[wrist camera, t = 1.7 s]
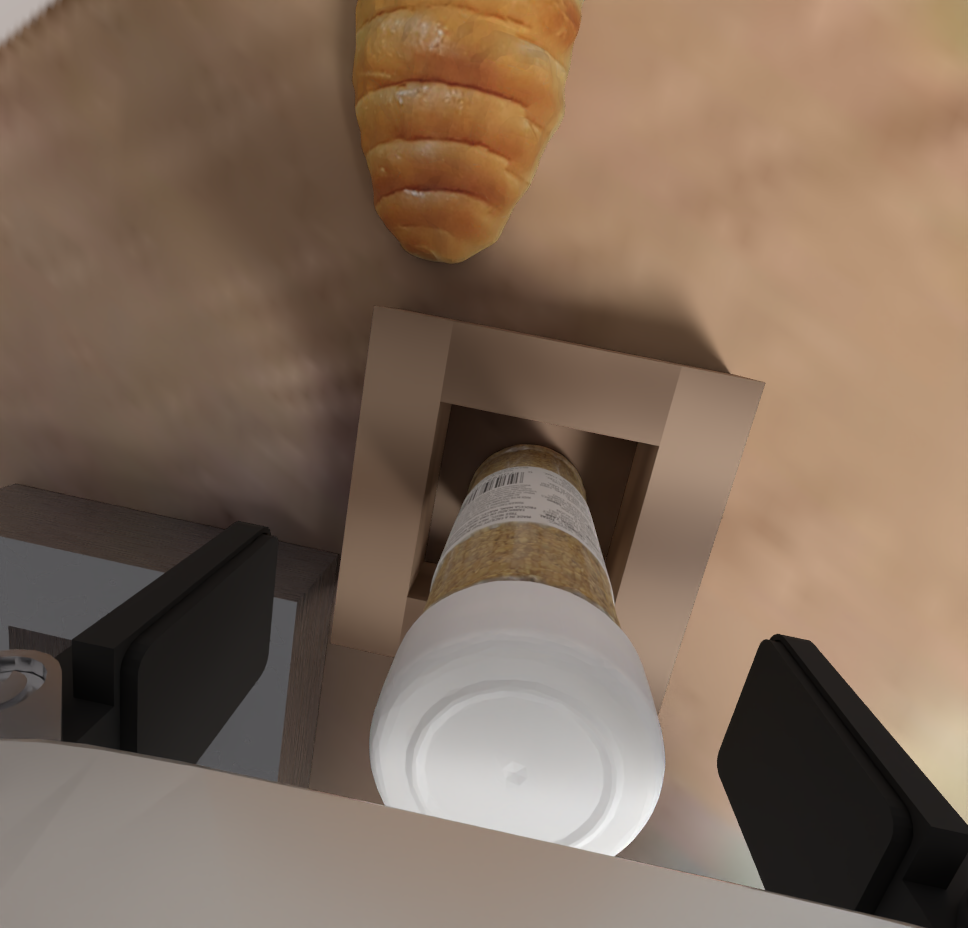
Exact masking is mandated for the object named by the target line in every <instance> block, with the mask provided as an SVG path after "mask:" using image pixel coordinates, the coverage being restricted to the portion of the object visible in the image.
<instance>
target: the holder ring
mask: <svg viewBox="0 0 968 928" xmlns="http://www.w3.org/2000/svg"><path fill="white" fill-rule="evenodd" d="M764 386H765V382H761V381H757V380H753V379H749V378H745V377H741V376H737V375H733V374H729V373H724V372H719V371H714V370H709V369H704V368H699V367H694V366H688V365H683V364H678V363H673V362H668V361H663V360H658V359H653V358H648V357H643V356H638V355H633V354H627V353H622V352H617V351H612V350H607V349H602V348H597V347H592V346H587V345H582V344H577V343H572V342H566V341H561V340H556V339H551V338H546V337H541V336H536V335H531V334H526V333H521V332H516V331H511V330H506V329H500V328H495V327H490V326H485V325H480V324H475V323H470V322H465V321H460V320H455V319H450V318H445V317H439V316H434V315H429V314H424V313H419V312H414V311H409V310H404V309H399V308H391V307H382V306H374V309H373V317H372V325H371V332H370V340H369V348H368V355H367V363H366V371H365V378H364V386H363V394H362V401H361V409H360V417H359V424H358V432H357V440H356V447H355V455H354V463H353V470H352V478H351V486H350V493H349V501H348V509H347V516H346V524H345V532H344V539H343V547H342V555H341V562H340V570H339V578H338V585H337V593H336V601H335V608H334V616H333V623H332V631H331V639H330V643H331V644H335V645H340V646H344V647H349V648H353V649H358V650H362V651H366V652H371V653H375V654H380V655H384V656H389V657H393V658H394V657H395V655H396V652H397V650H398V648H399V646H400V644H401V643H402V641H403V639H404V637H405V635H406V633H407V632H408V630H409V629H410V628H411V626H412V625H413V624H414V623H415V621H416V620H417V619H418V618H419V617H420V616H421V614H422V613H423V611H424V608H425V605H426V602H427V600H428V597H429V594H430V588H431V583H432V579H433V575H434V573H435V570H436V567H437V565H438V564H434V563H430V562H425V561H424V559H425V553H426V548H427V542H428V536H429V531H430V525H431V519H432V513H433V508H434V502H435V496H436V490H437V485H438V479H439V473H440V467H441V462H442V456H443V450H444V445H445V439H446V433H447V427H448V422H449V416H450V410H451V404H455V405H460V406H465V407H470V408H475V409H479V410H484V411H489V412H494V413H499V414H504V415H509V416H514V417H519V418H524V419H529V420H533V421H538V422H543V423H548V424H553V425H558V426H563V427H568V428H573V429H578V430H583V431H587V432H592V433H597V434H602V435H607V436H612V437H617V438H622V439H627V440H632V441H637V442H638V444H637V448H636V451H635V455H634V459H633V463H632V466H631V470H630V474H629V477H628V481H627V485H626V488H625V492H624V496H623V500H622V503H621V507H620V511H619V514H618V518H617V522H616V526H615V529H614V533H613V537H612V540H611V544H610V548H609V551H608V555H607V559H606V563H605V566H606V569H607V573H608V576H609V579H610V583H611V587H612V591H613V596H614V604H615V610H616V615H617V618H618V620H619V623H620V627H621V629H622V631H623V632H624V633H625V634H626V636H627V637H628V638H629V640H630V642H631V643H632V645H633V646H634V648H635V650H636V652H637V654H638V656H639V658H640V660H641V663H642V665H643V669H644V672H645V675H646V678H647V681H648V684H649V687H650V691H651V694H652V697H653V701H654V705H655V708H656V712H657V716H658V714H659V710H660V707H661V704H662V701H663V698H664V695H665V692H666V689H667V686H668V683H669V680H670V676H671V673H672V670H673V667H674V664H675V661H676V658H677V655H678V652H679V649H680V646H681V642H682V639H683V636H684V633H685V630H686V627H687V624H688V621H689V618H690V615H691V612H692V608H693V605H694V602H695V599H696V596H697V593H698V590H699V587H700V584H701V581H702V578H703V574H704V571H705V568H706V565H707V562H708V559H709V556H710V553H711V550H712V547H713V544H714V540H715V537H716V534H717V531H718V528H719V525H720V522H721V519H722V516H723V513H724V510H725V506H726V503H727V500H728V497H729V494H730V491H731V488H732V485H733V482H734V479H735V476H736V472H737V469H738V466H739V463H740V460H741V457H742V454H743V451H744V448H745V445H746V442H747V438H748V435H749V432H750V429H751V426H752V423H753V420H754V417H755V414H756V411H757V408H758V404H759V401H760V398H761V395H762V392H763V389H764Z"/></svg>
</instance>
